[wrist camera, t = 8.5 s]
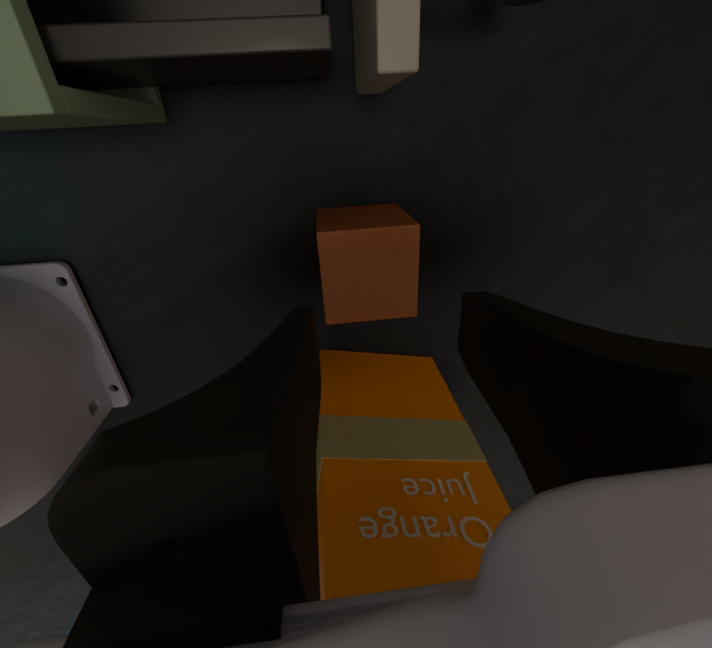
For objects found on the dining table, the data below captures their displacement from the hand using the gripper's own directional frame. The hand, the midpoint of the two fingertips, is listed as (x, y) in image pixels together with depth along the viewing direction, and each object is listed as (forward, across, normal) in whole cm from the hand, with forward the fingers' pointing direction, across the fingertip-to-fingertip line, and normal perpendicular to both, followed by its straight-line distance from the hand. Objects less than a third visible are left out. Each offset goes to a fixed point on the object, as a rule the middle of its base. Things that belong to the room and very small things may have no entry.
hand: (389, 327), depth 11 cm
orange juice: (+10, 0, +12) cm, 15 cm away
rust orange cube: (+9, 0, 0) cm, 9 cm away
